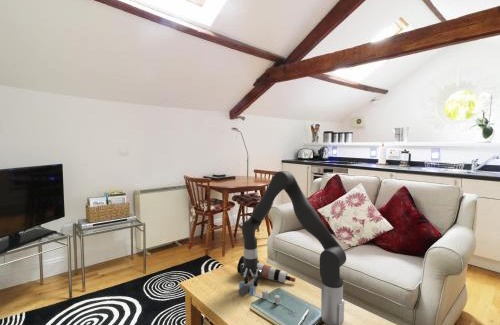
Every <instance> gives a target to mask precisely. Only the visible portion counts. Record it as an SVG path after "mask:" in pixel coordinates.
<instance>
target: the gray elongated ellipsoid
mask: <svg viewBox="0 0 500 325" xmlns="http://www.w3.org/2000/svg"><path fill="white" fill-rule="evenodd" d="M252 285H254V279H251V280H250V281H248V283H247V284H245V285H244V286H243V287H242V288H240V289H238V292H237V294H238V295H239V296H244V295H245V294H248V293H247V292H248V291H249V290H250V287H251V286H252Z"/></svg>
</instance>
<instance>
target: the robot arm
mask: <svg viewBox="0 0 500 325" xmlns="http://www.w3.org/2000/svg"><path fill="white" fill-rule="evenodd" d="M282 191H285V193H286V194H287V196H288V197H289V199H290V200H291V204H292V208H293V211H294V215H295V217H296V219H297V220H298V222H299V224H300V225H301V226H302V228H304V230H305V231H307V233H308V234H310V235H312V236H313V237H314V238H316V239H317V241H318V242H319V244H320V245H321V246H322V247H323V248H322V249H323V250H322V251H321V253H320V256H319V276H320V278H321V288H320V289H321V290H320V292H321V294H320V295H321V298H320V300H321V301H320V302H321V304H320V309H321V310H320V318H321V317H322V319H321V321H322V322H323V323H324V324H326V325H342V323H343V321H344V320H345V299H344V298H343V297H344V295H343V294H344V278H343V276H342V275H341V273H340V272H341V271H340V270H341V269H340V268H341V267H342V266H343V265H345V263H346V262H347V254H346V253H345V252H346V251H345V250H344V249H343V247H342V245H340V243H339V242H338V241H337V240H336V239H335V237H334V236H333V235H332V234H331V232H330V231H329V229H328V227H327V226H326V225H325V223H324V221H323V220H322V219H321V218H320V216H319V214H318V212H317V211H316V210H315V208H314V206H313V205H312V204H311V202H310V201H309V199H308V198H307V197H306V195H305V194H304V192H303V190H302V189H301V187H300V185H299V184H298V182H297V179H296V177H295V175H293V173H292V172H290V171H284V170H282V171H281V170H280V171H277V172H275V173H274V174H273V176H272V178H271V180H270V182H269V184H268V186H267V188H266V190H265V192H264V194H263V195H262V196H261V198H260V200H259V202H258V204H257V205H256V206H255V208H254V209H253V211H252V213H251V215H250V217H249V218H248V219H247V220H245V221H243V223H242V226H241V233H242V238H243V240H244V241H243V256H244V263H242V264H241V265H240V271H241V273H240V275H241V276H243V281H244V282H245V285H246V284H247V283H248V282H249V276H248V274H251V275H252V277H251V278H252V280H254V286H256V288H257V287H258V286H259V284H258V283H259V282H260V281H261V280H262V277H261V276H262V270H259V269H258V268H257V264H258V261H259V259H258V240H257V236H255V231H256V230H258V228H259V227H260V226H261V224H262V222H263V221H264V219H265V218H266V216H267V215H268V214H269V213H270V211H271V209H272V207H273V204H274V201H275V200H276V197H277V196H278V195H279V194H280V193H281V192H282ZM254 274H255V275H254Z"/></svg>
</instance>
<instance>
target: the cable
mask: <svg viewBox="0 0 500 325" xmlns="http://www.w3.org/2000/svg"><path fill="white" fill-rule="evenodd" d="M242 263H244V255H241V256H240V257H239V260H238V263H237V268H236V270H237V273H238V274H241V271H240V265H241V264H242ZM257 268H258V269H259V270H262V276H261V279H262V278H263V279H267V280H272V281H275V282H280V283H283V284H285V283H286V281H289V282H292V283H296V278H295V277H293V276H289V275H288V271H284V270H281V269H278V268H276V267H273V266H269V265H266V264H263V263H261V262H259V260H258V264H257ZM254 275H255V274H254ZM248 277H251V278H253V277H252V275H251V274H248Z"/></svg>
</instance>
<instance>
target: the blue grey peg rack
mask: <svg viewBox="0 0 500 325" xmlns="http://www.w3.org/2000/svg"><path fill="white" fill-rule="evenodd" d="M244 285H246V284H245V282H244V280H241V281H239V282H238V288H239V289H240V288H242V287H243V286H244ZM239 289H238V290H239ZM256 289H257V287H256V286H254V285H252V286H251V287H250V290H249V291H248V292H247V293H246V294H249V295H251V296H255V297H257V298H259V299H261V298H266V297H267V298H268V290H266V289H263V290H262V291H261V294H260V293H256V292H257V290H256ZM273 297H274V298H273V301H274V302H276V303H279V302H280V303H281V296H280V295H279V294H275V295H274V296H273Z"/></svg>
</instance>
